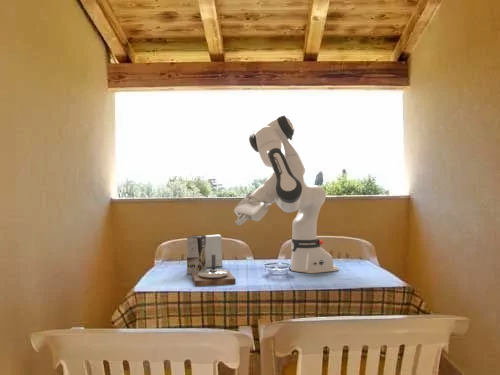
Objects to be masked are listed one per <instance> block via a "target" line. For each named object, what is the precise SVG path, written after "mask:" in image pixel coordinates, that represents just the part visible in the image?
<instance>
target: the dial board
mask: <svg viewBox="0 0 500 375" xmlns="http://www.w3.org/2000/svg"><path fill="white" fill-rule="evenodd" d="M227 271H228V276H227V277H224V278H218V279H206V278H201V277H199V273H192V274H191V279H192V281H193V283H194V286H195V287H198V286H200V287H202V286H214V285H215V286H217V285H220V286H221V285H233V284H236V282H237V281H236V278H235V276H234V275H233V273H231V272H230V270H227Z"/></svg>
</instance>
